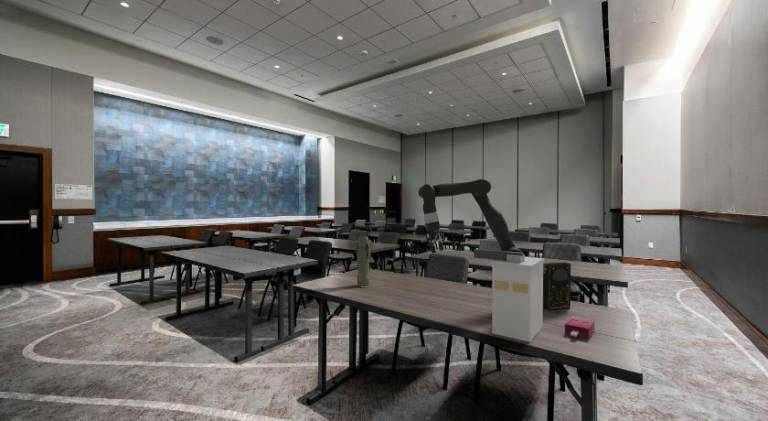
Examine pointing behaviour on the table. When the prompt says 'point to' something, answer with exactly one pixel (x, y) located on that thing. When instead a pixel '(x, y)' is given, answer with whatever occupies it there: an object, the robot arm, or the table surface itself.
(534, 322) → the cabinet
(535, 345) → the table surface
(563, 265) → the voltmeter
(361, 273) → the thermos
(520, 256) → the cable bar
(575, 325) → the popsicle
